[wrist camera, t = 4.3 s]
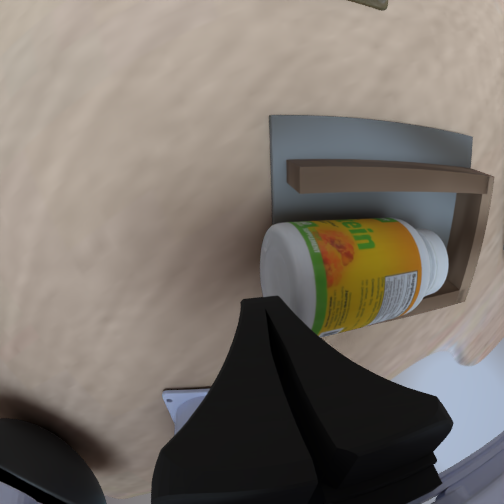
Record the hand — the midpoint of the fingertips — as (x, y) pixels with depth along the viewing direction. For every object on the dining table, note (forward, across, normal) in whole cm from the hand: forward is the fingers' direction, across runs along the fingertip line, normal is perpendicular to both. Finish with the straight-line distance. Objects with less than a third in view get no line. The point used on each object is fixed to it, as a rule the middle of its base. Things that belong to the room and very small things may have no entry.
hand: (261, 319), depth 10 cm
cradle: (+7, -9, 0) cm, 11 cm away
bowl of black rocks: (+7, +28, +24) cm, 37 cm away
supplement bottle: (+3, -1, 0) cm, 3 cm away
